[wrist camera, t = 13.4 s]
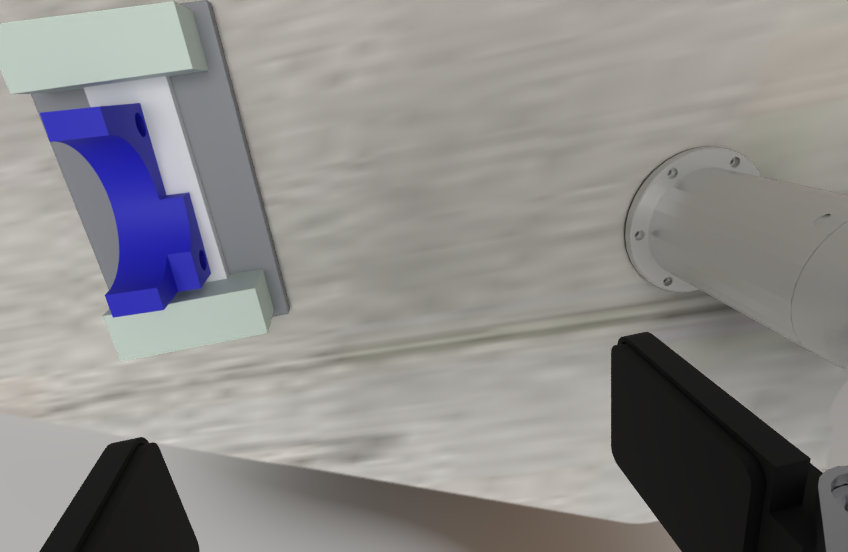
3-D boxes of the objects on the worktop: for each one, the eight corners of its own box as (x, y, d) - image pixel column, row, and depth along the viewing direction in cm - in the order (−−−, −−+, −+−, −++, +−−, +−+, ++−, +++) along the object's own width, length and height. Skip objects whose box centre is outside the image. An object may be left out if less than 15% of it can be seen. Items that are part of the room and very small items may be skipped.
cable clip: (211, 273, 37) (188, 306, 32) (146, 282, 37) (112, 317, 31) (164, 100, 33) (129, 103, 27) (90, 108, 32) (39, 112, 27)
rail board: (210, 3, 33) (189, -12, 28) (289, 307, 41) (283, 336, 36) (15, 28, 32) (-43, 17, 27) (136, 336, 40) (108, 370, 35)
